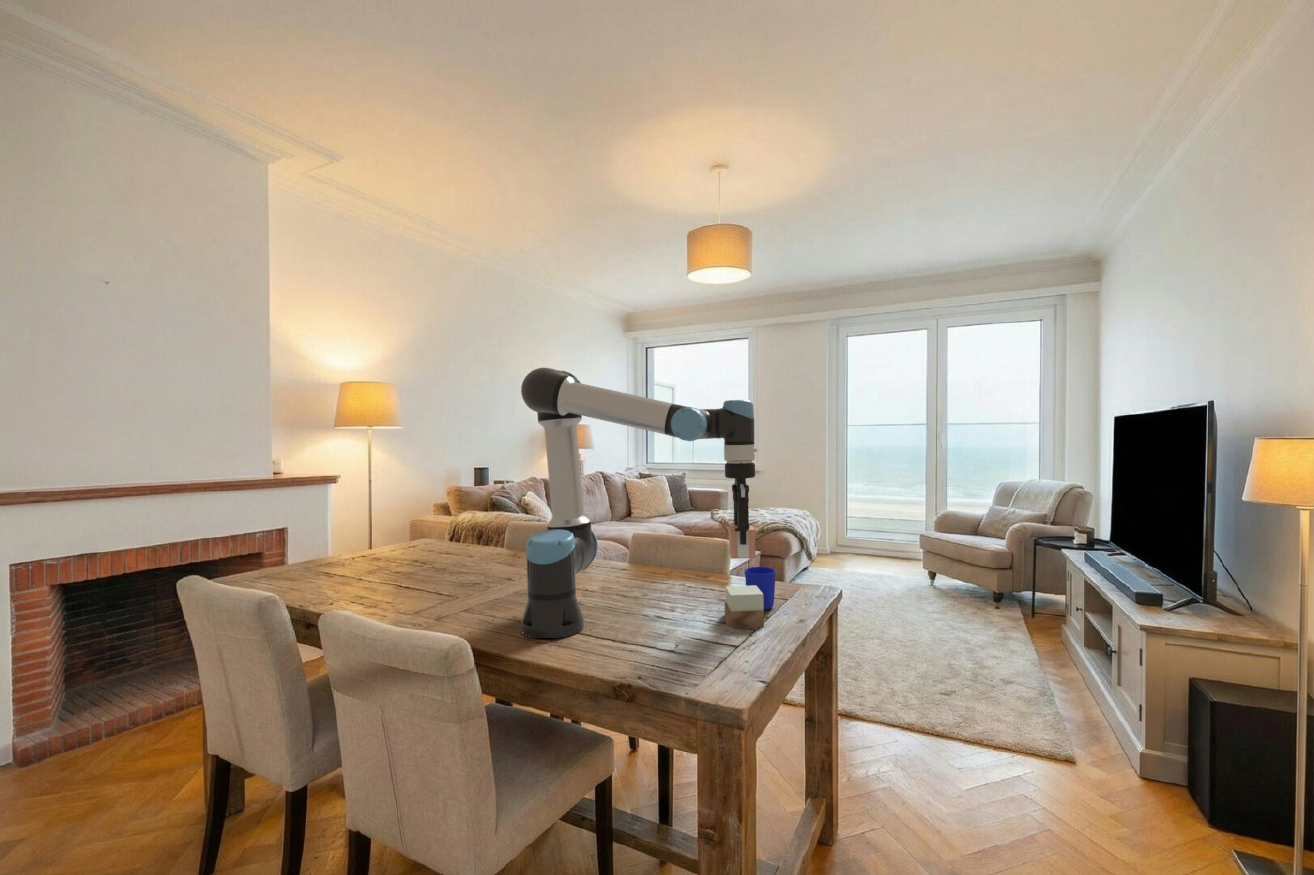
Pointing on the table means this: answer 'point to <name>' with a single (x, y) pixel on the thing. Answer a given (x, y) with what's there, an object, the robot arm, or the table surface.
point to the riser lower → (743, 618)
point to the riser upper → (744, 598)
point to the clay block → (734, 542)
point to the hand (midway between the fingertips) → (741, 554)
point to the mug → (762, 583)
